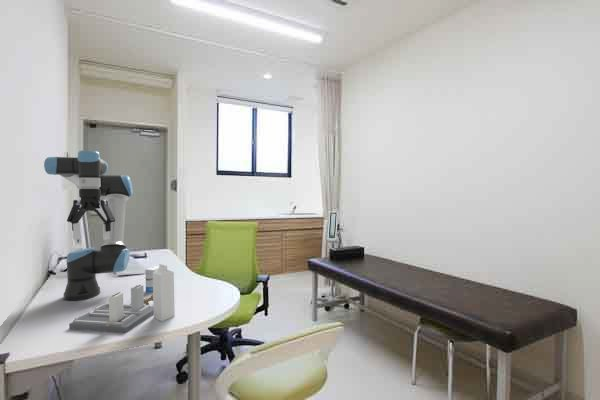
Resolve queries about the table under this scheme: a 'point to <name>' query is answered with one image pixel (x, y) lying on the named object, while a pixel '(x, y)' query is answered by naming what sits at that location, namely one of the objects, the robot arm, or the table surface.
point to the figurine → (148, 300)
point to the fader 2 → (137, 298)
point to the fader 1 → (116, 307)
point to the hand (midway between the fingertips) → (91, 239)
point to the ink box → (150, 278)
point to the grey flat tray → (102, 323)
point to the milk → (163, 293)
